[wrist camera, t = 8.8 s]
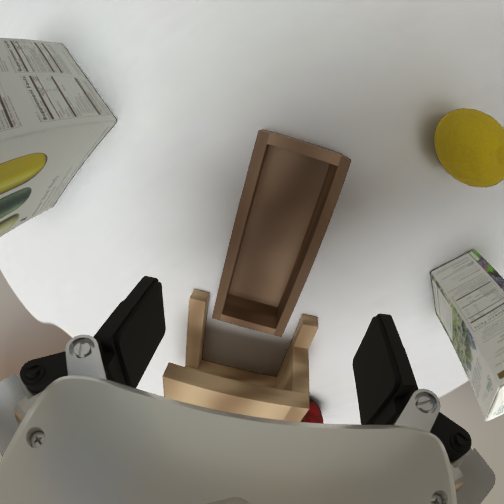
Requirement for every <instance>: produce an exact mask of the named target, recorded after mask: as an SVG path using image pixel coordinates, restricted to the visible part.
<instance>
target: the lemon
mask: <svg viewBox="0 0 504 504" xmlns="http://www.w3.org/2000/svg"><path fill="white" fill-rule="evenodd" d="M434 144H435V150H436V154H437V157H438V159H439V161H440V163H441V164H442V166H443V167H444V168H445V170H446V171H447V172H448V173H449V174H450V175H452V176H453V177H454V178H455V179H457V180H458V181H460V182H462V183H465V184H467V185H470V186H475V187H489V186H493V185H496V184H498V183H499V182H501V181H502V180H503V179H504V129H503V127H502V126H501V125H500V124H499V123H498V122H497V121H496V120H495V119H494V118H492V117H491V116H489V115H487V114H485V113H483V112H480V111H478V110H474V109H458V110H454V111H451V112H449V113H448V114H446V115H445V116H444V117H443V118H442V119H441V120H440V122H439V123H438V125H437V128H436V130H435V136H434Z"/></svg>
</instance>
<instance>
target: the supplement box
mask: <svg viewBox="0 0 504 504" xmlns="http://www.w3.org/2000/svg"><path fill="white" fill-rule="evenodd" d="M115 123H116V119H115V117H114V116H113V114H112V113H111V112H110V110H109V109H108V107H107V106H106V105H105V103H104V102H103V101H102V99H101V98H100V96H99V95H98V94H97V92H96V91H95V89H94V88H93V87H92V85H91V84H90V82H89V81H88V80H87V78H86V77H85V75H84V74H83V73H82V71H81V70H80V68H79V67H78V66H77V64H76V63H75V61H74V60H73V58H72V57H71V56H70V54H69V53H68V51H67V50H66V48H65V47H64V46H63V44H61V43H52V42H44V41H36V40H26V39H11V38H0V237H1V236H2V235H4V234H6V233H7V232H9V231H11V230H12V229H14V228H16V227H17V226H19V225H21V224H22V223H24V222H26V221H28V220H29V219H31V218H33V217H35V216H37V215H38V214H40V213H42V212H44V211H46V210H48V209H50V208H51V207H53V206H54V204H55V203H56V201H57V200H58V198H59V197H60V195H61V194H62V192H63V191H64V189H65V188H66V186H67V185H68V183H69V182H70V180H71V179H72V177H73V176H74V175H75V173H76V172H77V170H78V169H79V168H80V166H81V165H82V164H83V162H84V161H85V160H86V158H87V157H88V156H89V155H90V153H91V152H92V151H93V149H94V148H95V147H96V146H97V145H98V143H99V142H100V141H101V140H102V138H103V137H104V136H105V135H106V134H107V133H108V131H109V130H110V129H111V128H112V127H113V126H114V125H115Z"/></svg>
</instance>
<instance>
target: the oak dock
mask: <svg viewBox="0 0 504 504" xmlns="http://www.w3.org/2000/svg"><path fill="white" fill-rule="evenodd" d="M209 294H210V293H208V292H205V291H201V290H197V289H194V291H193V293H192V295H191V296H190V301H189V314H188V329H187V346H186V366H185V367H183V366H179V365H176V364H173V363H170V362H169V363H168V366H167V368H166V370H165V372H164V374H163V388H164V397H166V398H170V399H173V400H177V401H181V402H185V403H189V404H193V405H197V406H201V407H206V408H211V409H215V410H220V411H225V412H230V413H236V414H242V415H248V416H254V417H261V418H268V419H276V420H285V421H295V422H300V421H301V420H302V418H303V417H304V416H305V414H306V413H307V411H308V410H309V359H308V348H309V346H310V344H311V342H312V340H313V338H314V336H315V333H316V331H317V329H318V319H317V317H315V316H310V315H305V314H302V317H301V319H300V322H299V324H298V327H297V329H296V332H295V334H294V337H293V339H292V342H291V344H290V347H289V349H288V351H287V354H286V356H285V358H284V361H283V363H282V366H281V368H280V370H279V372H278V375H277V377H275V376H270V375H264V374H259V373H255V372H250V371H245V370H241V369H236V368H232V367H228V366H224V365H220V364H216V363H212V362H208V361H204V360H201V359H202V350H203V341H204V333H205V325H206V317H207V309H208V301H209Z"/></svg>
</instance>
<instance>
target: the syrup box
mask: <svg viewBox="0 0 504 504" xmlns="http://www.w3.org/2000/svg"><path fill="white" fill-rule="evenodd" d="M430 275H431V281H432V288H433V294H434V301H435V310H436V315H437V316H438V318H439V320H440V322H441V324H442V325H443V327H444V329H445V331H446V333H447V335H448V337H449V339H450V341H451V343H452V345H453V347H454V349H455V351H456V353H457V355H458V357H459V359H460V361H461V363H462V366H463V368H464V370H465V372H466V374H467V377H468V379H469V381H470V383H471V386H472V388H473V391H474V393H475V395H476V398H477V400H478V403H479V405H480V408H481V411H482V413H483V416H484V420H485V421H489V420H491V419H493V418H496V417H498V416H499V415H502V414H504V279H503V278H502V277H501V276H500V275H499V274H498V272H497V271H496V270H495V269H494V268H493V267H492V266H491V265H490V264H489V263H488V262H487V261H486V260H485V259H484V258H483V257H482V256H481V255H480V254H479V253H478V252H477V251H476V250H472V251H470V252H468V253H466V254H464V255H462V256H461V257H459V258H457V259H455V260H453V261H451V262H449V263H447V264H445V265H443V266H441V267H439V268H438V269H436V270H434V271H432V272H430Z"/></svg>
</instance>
